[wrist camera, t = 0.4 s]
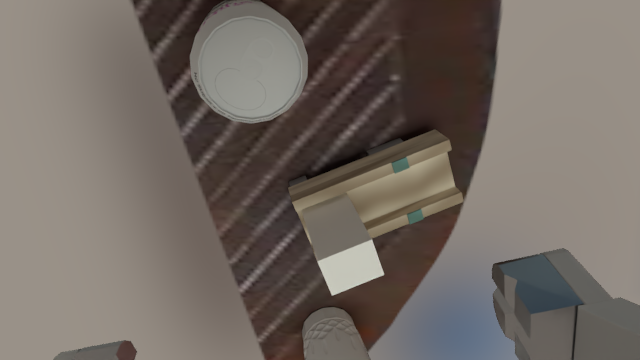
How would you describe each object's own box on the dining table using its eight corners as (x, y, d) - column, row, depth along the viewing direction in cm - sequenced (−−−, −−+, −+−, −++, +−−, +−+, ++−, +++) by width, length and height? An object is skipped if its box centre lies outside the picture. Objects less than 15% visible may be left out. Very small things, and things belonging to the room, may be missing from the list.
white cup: (297, 353, 62) (309, 418, 53) (296, 306, 58) (309, 366, 49) (355, 346, 63) (376, 408, 54) (357, 299, 60) (380, 356, 51)
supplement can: (261, 98, 47) (275, 148, 34) (185, 57, 44) (166, 93, 31) (302, 26, 45) (333, 48, 32) (224, -22, 42) (223, -21, 29)
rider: (300, 208, 48) (317, 261, 39) (345, 190, 48) (371, 239, 40) (313, 238, 50) (332, 295, 41) (356, 221, 50) (384, 274, 41)
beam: (285, 180, 51) (292, 202, 46) (427, 123, 52) (450, 140, 46) (308, 234, 55) (317, 261, 49) (442, 181, 55) (464, 202, 50)
